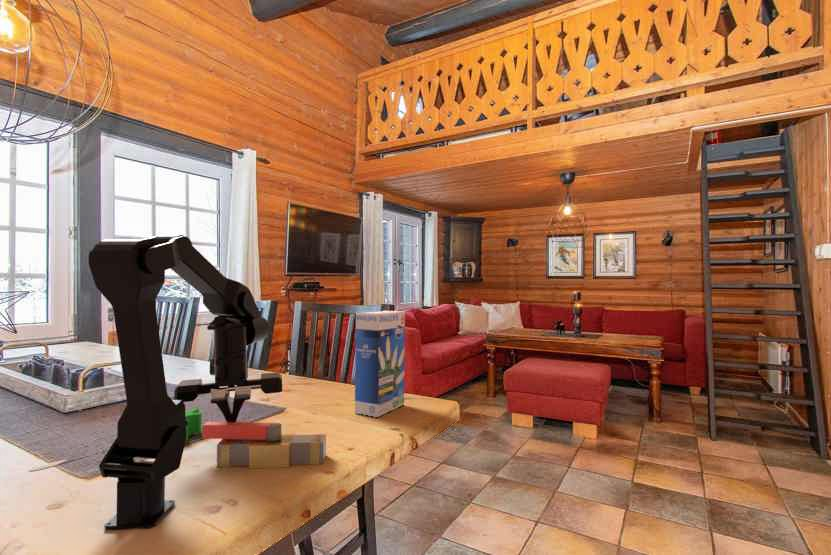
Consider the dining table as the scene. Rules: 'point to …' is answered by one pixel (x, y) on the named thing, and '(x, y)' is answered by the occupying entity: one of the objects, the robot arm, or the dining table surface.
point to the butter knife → (45, 466)
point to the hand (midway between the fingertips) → (232, 430)
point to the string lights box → (379, 362)
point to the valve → (272, 451)
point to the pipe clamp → (193, 422)
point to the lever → (242, 430)
